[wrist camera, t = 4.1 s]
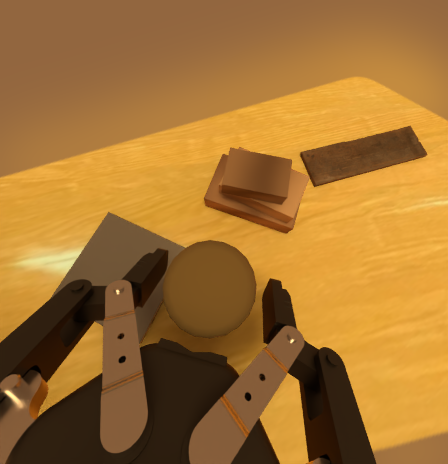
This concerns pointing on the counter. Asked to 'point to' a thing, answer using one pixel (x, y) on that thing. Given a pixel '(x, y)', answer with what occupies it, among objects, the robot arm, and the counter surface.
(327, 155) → the wooden plank
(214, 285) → the cork
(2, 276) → the counter surface
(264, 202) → the offcut stack
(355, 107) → the counter surface
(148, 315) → the slate coaster
